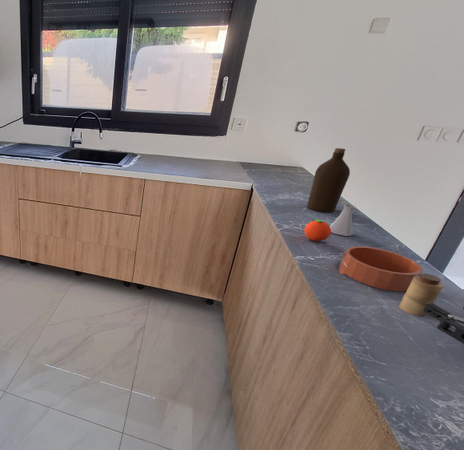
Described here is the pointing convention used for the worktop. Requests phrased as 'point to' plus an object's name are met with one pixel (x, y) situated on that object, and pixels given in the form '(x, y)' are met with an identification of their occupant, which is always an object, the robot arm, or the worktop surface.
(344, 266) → the pot
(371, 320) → the worktop surface
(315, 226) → the clementine
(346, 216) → the flask
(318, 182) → the olive oil
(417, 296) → the pepper mill
